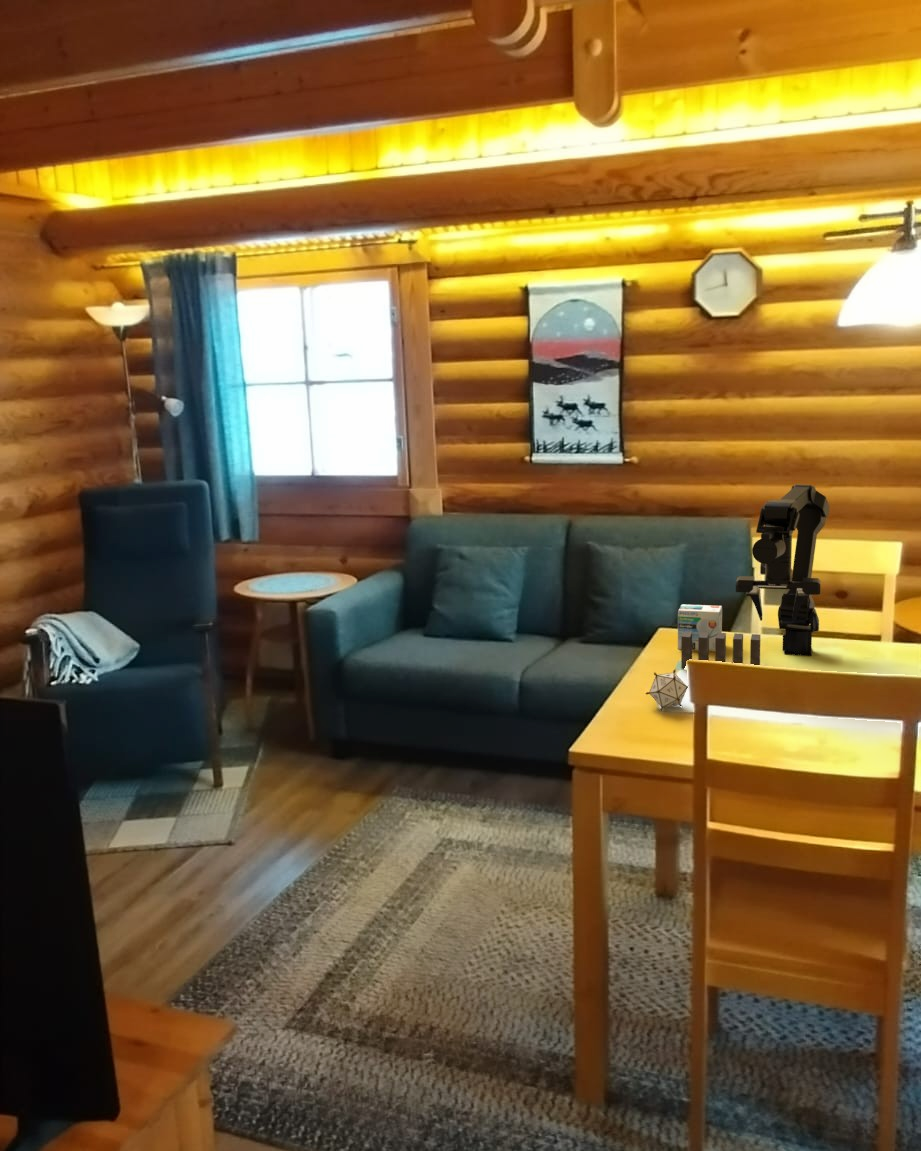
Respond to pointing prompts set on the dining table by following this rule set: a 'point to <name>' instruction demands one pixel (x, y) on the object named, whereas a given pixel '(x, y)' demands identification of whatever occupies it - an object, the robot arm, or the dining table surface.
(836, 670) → the dining table surface
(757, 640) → the domino
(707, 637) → the domino
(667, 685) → the game die
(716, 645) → the domino
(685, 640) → the domino
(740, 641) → the domino
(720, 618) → the light bulb box
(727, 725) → the dining table surface
